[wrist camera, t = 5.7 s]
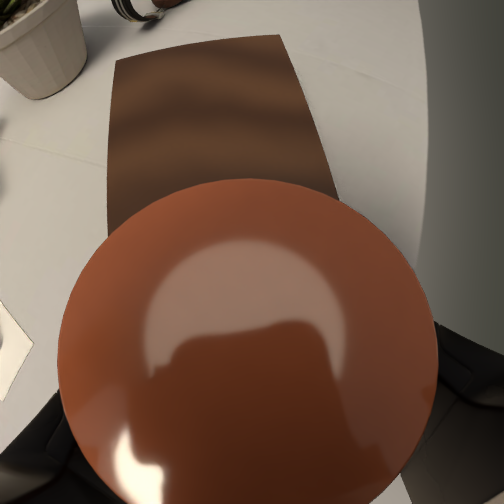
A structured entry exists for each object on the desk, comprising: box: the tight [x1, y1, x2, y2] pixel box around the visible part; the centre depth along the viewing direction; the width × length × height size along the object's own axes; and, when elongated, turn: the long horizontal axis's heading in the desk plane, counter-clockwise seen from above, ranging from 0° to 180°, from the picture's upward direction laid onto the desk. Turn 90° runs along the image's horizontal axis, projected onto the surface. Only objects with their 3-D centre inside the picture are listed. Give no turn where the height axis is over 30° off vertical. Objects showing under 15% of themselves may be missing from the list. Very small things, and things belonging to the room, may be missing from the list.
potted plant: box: [0, 0, 87, 99], centre depth 17 cm, size 13×14×20 cm
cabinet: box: [107, 35, 339, 237], centre depth 20 cm, size 15×12×8 cm
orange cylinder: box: [57, 178, 439, 504], centre depth 8 cm, size 5×5×10 cm
